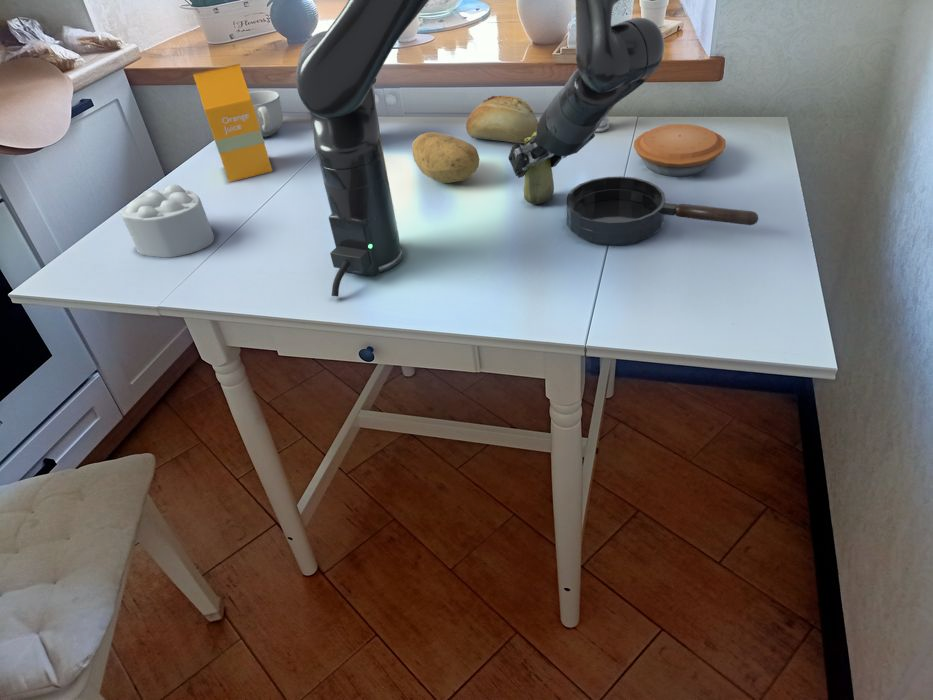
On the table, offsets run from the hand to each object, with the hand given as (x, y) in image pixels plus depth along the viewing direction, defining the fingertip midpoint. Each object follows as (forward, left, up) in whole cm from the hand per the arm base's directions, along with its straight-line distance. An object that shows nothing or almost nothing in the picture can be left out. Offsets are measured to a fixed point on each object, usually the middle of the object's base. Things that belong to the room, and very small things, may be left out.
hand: (534, 166), depth 119 cm
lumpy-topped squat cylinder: (-29, +55, -6) cm, 62 cm away
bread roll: (+22, +15, -6) cm, 27 cm away
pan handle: (-5, -29, -3) cm, 30 cm away
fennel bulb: (-1, -1, -6) cm, 6 cm away
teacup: (+14, +69, -6) cm, 70 cm away
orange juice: (-2, +61, -6) cm, 61 cm away
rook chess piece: (+30, -2, -6) cm, 30 cm away
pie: (+18, -20, -6) cm, 28 cm away
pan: (-5, -15, -6) cm, 17 cm away
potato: (+3, +18, -6) cm, 19 cm away
